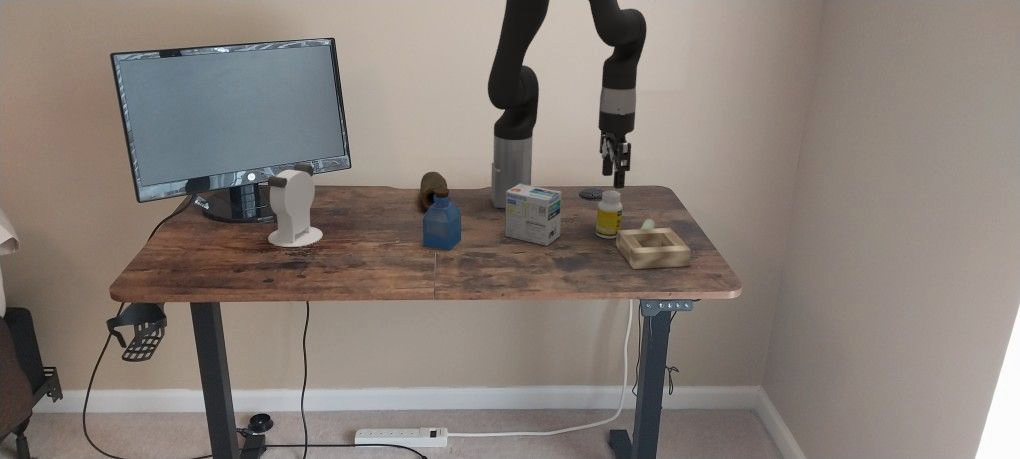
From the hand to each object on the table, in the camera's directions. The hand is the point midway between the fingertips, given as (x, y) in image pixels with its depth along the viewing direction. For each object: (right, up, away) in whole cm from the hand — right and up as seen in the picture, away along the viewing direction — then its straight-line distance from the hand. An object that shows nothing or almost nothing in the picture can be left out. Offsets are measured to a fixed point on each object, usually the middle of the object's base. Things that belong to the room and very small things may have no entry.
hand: (612, 181), depth 169 cm
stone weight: (-41, -4, +22) cm, 47 cm away
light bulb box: (-17, -12, +3) cm, 21 cm away
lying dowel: (+8, -12, +5) cm, 15 cm away
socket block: (+8, -16, -5) cm, 18 cm away
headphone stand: (-69, -12, 0) cm, 70 cm away
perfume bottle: (-37, -13, -1) cm, 39 cm away
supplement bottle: (0, -12, +5) cm, 13 cm away
